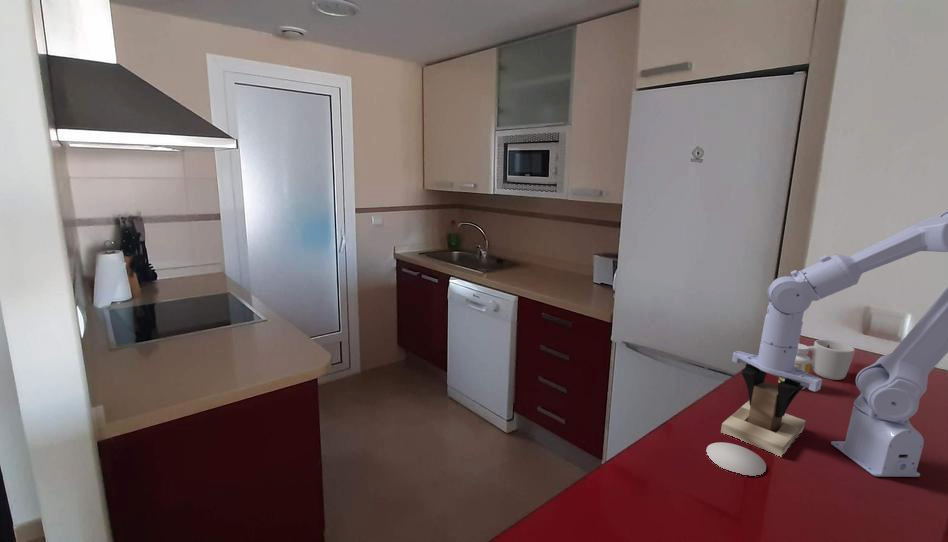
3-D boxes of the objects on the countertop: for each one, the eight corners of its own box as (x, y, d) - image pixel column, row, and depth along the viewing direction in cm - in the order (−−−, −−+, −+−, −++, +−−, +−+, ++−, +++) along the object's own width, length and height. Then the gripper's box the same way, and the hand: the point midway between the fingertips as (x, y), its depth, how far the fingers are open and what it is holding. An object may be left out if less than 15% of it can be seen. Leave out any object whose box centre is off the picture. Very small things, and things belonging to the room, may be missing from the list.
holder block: (803, 429, 91) (805, 420, 90) (781, 457, 81) (783, 447, 81) (747, 409, 98) (748, 400, 97) (720, 432, 89) (722, 423, 88)
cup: (802, 378, 114) (808, 347, 112) (791, 365, 122) (796, 336, 120) (854, 385, 111) (861, 353, 109) (839, 371, 119) (846, 342, 117)
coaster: (778, 476, 76) (778, 474, 76) (724, 476, 76) (724, 474, 76) (745, 444, 85) (745, 442, 85) (696, 444, 85) (696, 442, 85)
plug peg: (779, 428, 89) (787, 390, 87) (769, 434, 87) (776, 394, 85) (758, 419, 92) (765, 381, 90) (747, 424, 90) (754, 386, 88)
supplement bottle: (796, 380, 112) (804, 342, 110) (810, 391, 107) (818, 351, 105) (773, 379, 113) (780, 340, 111) (785, 389, 108) (793, 349, 105)
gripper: (835, 352, 82) (820, 422, 85) (750, 327, 94) (739, 389, 97) (816, 359, 78) (801, 433, 81) (730, 332, 90) (720, 397, 93)
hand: (766, 410), depth 89 cm, fingers closed on plug peg, 4 cm apart
